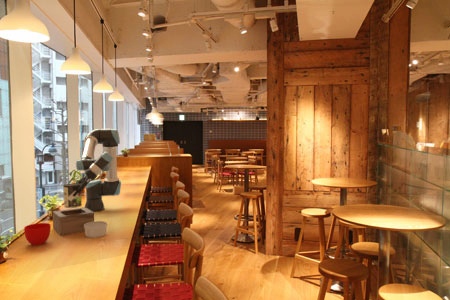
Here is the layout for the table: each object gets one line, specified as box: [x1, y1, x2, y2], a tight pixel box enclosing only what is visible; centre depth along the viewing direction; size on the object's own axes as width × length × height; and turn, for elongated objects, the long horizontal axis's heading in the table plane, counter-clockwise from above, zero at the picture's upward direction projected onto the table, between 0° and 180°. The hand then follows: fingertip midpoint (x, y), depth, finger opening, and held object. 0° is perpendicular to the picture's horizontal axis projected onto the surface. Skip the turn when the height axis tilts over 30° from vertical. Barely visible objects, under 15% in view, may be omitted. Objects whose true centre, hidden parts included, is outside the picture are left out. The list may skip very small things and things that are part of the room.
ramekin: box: [84, 220, 108, 239], centre depth 212 cm, size 13×13×7 cm
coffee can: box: [63, 182, 83, 209], centre depth 224 cm, size 10×10×14 cm
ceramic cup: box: [23, 222, 51, 246], centre depth 198 cm, size 13×17×10 cm
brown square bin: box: [52, 206, 95, 237], centre depth 225 cm, size 20×20×12 cm
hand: (67, 198), depth 222 cm, fingers closed on coffee can, 10 cm apart
